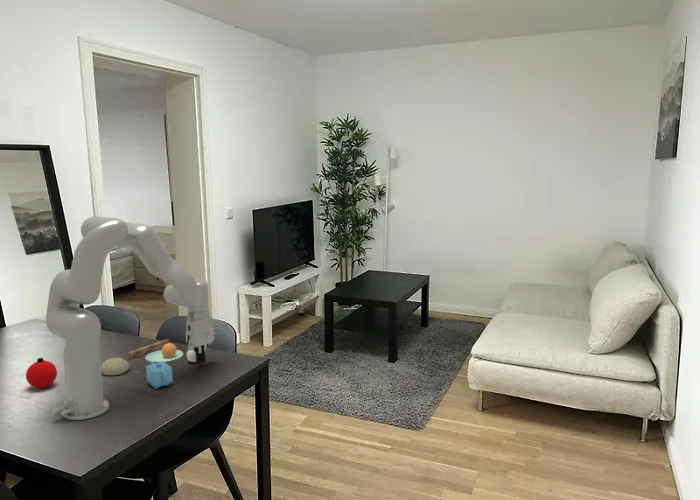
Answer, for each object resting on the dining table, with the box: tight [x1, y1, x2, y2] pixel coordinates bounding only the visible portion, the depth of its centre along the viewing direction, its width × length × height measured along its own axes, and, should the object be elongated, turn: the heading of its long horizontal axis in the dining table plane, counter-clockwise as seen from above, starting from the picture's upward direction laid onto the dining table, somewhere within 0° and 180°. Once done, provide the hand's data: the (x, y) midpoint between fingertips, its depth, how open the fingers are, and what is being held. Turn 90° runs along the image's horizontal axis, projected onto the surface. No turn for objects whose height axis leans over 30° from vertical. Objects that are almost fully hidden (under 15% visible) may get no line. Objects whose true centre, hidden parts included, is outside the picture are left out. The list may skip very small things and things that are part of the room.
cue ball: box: [186, 349, 197, 363], centre depth 200 cm, size 6×6×6 cm
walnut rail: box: [127, 338, 171, 360], centre depth 211 cm, size 18×2×2 cm, turn 149°
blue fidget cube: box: [145, 361, 174, 390], centre depth 180 cm, size 12×6×8 cm, turn 41°
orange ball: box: [161, 342, 177, 357], centre depth 205 cm, size 6×6×6 cm
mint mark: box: [144, 349, 184, 363], centre depth 207 cm, size 14×14×1 cm
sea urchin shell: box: [100, 357, 130, 376], centre depth 190 cm, size 9×8×8 cm
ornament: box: [25, 357, 58, 389], centre depth 177 cm, size 9×9×10 cm
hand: (200, 361), depth 196 cm, fingers closed
